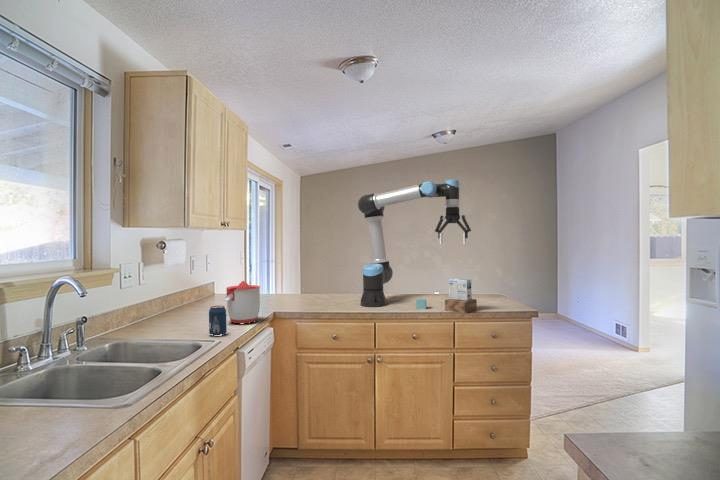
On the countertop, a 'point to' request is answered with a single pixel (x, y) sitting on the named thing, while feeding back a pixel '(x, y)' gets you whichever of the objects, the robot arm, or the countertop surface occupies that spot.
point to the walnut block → (461, 305)
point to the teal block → (421, 304)
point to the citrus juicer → (243, 302)
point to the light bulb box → (460, 289)
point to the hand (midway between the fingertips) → (452, 244)
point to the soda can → (217, 320)
